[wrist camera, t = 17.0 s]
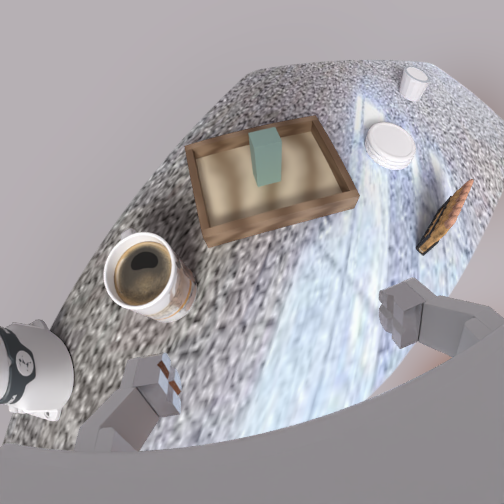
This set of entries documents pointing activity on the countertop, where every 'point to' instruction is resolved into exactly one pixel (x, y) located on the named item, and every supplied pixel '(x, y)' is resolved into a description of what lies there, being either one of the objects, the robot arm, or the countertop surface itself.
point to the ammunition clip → (444, 219)
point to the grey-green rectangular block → (266, 156)
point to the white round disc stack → (390, 146)
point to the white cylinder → (413, 83)
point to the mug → (149, 277)
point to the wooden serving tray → (272, 195)
